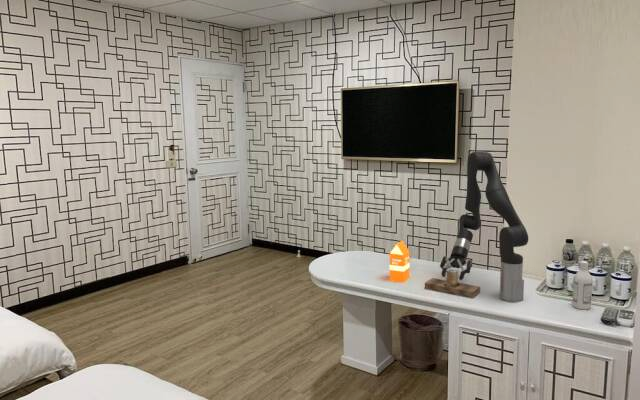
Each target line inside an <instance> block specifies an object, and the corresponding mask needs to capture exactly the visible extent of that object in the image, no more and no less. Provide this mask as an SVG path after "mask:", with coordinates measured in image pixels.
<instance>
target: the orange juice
mask: <svg viewBox="0 0 640 400" xmlns="http://www.w3.org/2000/svg"><path fill="white" fill-rule="evenodd" d="M410 267H411V266H410V250H409V249H408V246H407V245H406V244H405V243H404V240H400V241H399V242H397V243H396V244H395V246H394V247H393V248H392V250H391V251H390V252H389V282H396V283H403V284H404V283H406V282H407V281H408V280H409V279H410ZM406 280H407V281H406Z"/></svg>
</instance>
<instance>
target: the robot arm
mask: <svg viewBox="0 0 640 400" xmlns="http://www.w3.org/2000/svg"><path fill="white" fill-rule="evenodd" d="M466 167H467V168H466V169H467V170H466V173H467V174H466V179H467V180H466V181H467V182H466V184H467V187H466V189H467V190H466V198H465V205H464V208H465V210H466V211H467V212H470V213H471V214H472V215H470V214H466V213H465V214H462V215H460V216H459V219H458V220H459V223H458V224H459V225H458V226H459V228H458V229H459V230H458V234H457V236H456V240H455V241H454V244H453V247H452V250H451V253H450V256H449V257H447V256H445V255H444V256H443V257H442V259H441V261H440V262H441V263H440V264H439V267H440V268H441V270H442V271H441V277H442V278H445V276H446V275H447V270H449V269H453V268H454V269H455V268H456V269H460V270H461V271H460V274H459V275H458V276H459V277H458V280H459V281H462V280H463V279H464V278H465V275H466V274H470V273H471V269H472V264H473V263H472V261H471V260H470V259H468V260H467V258H468V254H469V252H470V249H471V243H472V241H473V238H474V233H473V232H472V231H477V230H480V228H481V225H482V220H481V213H480V211H481V210H480V208H481V201H482V192H481V189H480V186H479V183H478V179H477V174H478V172H479V171H480V172H482V171H483V172H484V174H485V176H486V179H487V183H486V186H485V190H484V191H485V198H486V199H487V200H486V201H487V202H488V205H489V207H490V208H491V209H492V210H493V211H494V212H495V213H496V214H497V215H499V216H500V217H501V218H503V220H504V221H505V222H506V224H507V225H508V226H505V227H502V228H501V229H500V231H499V237H498V238H499V239H498V243H499V257H500V273H499V274H500V275H499V276H500V277H499V298H500V299H501V300H503V301H506V302H511V303H517V302H521V301H524V294H525V293H524V289H525V280H524V279H523V270H524V269H523V267H524V257H523V255H522V254H519V253H516V252H515V249H514V248H518V247H524V246H526V245H528V243H529V234H528V232H527V229H526V227H525V225H524V224H523V222H522V221H521V219H520V216H519V215H518V214H517V211H516V209H515V208H514V206H513V203H512V202H511V201H512V200H511V199H510V197H509V195H508V192H507V190H506V188H505V186H504V183H503V181H502V180H501V177H500V174H499V171H498V169H497V166H496V162H495V160H494V157H493V156H492V154H491V153H490V152H488V151H473V152H471V153H469V155H468V157H467V165H466ZM471 230H472V231H471ZM464 265H466V267H465V268H464Z"/></svg>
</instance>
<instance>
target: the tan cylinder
mask: <svg viewBox="0 0 640 400" xmlns="http://www.w3.org/2000/svg"><path fill="white" fill-rule="evenodd" d="M445 276H446V278H445V279H446V286H450V287H455V288H456V287H457V286H458V283H459V282H458V281H459V277H458V276H459V270H458V269H453V268H450V269H448V270H446V274H445Z"/></svg>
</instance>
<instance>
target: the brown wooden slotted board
mask: <svg viewBox="0 0 640 400" xmlns="http://www.w3.org/2000/svg"><path fill="white" fill-rule="evenodd" d="M424 290H428V291H433V292H440V293H444V294H449V295H453V296H458V297H459V296H460V297H465V298H469V299H474V298H476V297H477V296H478V295H479V294H480V293H481V286H478V285H473V284H467V283H462V282H458V286H457V287H456V288H455V287H450V286H446V280H445V279H440V278H434V277H432V278H430V279H428V280H426V281H425V282H424Z"/></svg>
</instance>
